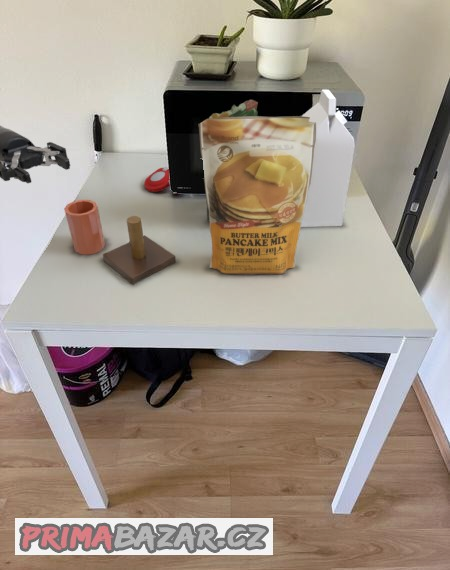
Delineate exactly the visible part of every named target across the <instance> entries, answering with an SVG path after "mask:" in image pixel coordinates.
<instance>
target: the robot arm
mask: <svg viewBox="0 0 450 570" xmlns="http://www.w3.org/2000/svg"><path fill="white" fill-rule="evenodd" d="M52 157H53V158H54V159H53V158H52ZM44 159H45V160H44ZM52 165H57V166H58V167H61V168H62V169H64V170H66V171H68V170H70V168H71V163H70V158H69V157H68V154H67V148H65V147H64V146H61V145H59V144H57V143H54V142H51V141H49V142H46V146H45V147H41V146H36V145H35V144H34V143H33V142H32V140H30V139H29V138H27V137H26V136H23V135H21V134H20V133H18V132H16V131H14V130H12V129H10V128H7V127H4V126H2V125H0V179H1V180H3V181H4V182H8V181H10V180H11V179H12V178H13V180H18V181H20V182H21V183H26V184H31V183H32V178H31V175H30V172H29V171H27V170H30V169H32V168H34V167H35V168H36V167H39V166H41V167H50V166H52Z"/></svg>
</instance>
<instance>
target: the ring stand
mask: <svg viewBox="0 0 450 570" xmlns="http://www.w3.org/2000/svg"><path fill="white" fill-rule="evenodd" d="M126 226H127V232H128V239H129V242H126V243H125V244H123V245H120V246H118V247H116V248H113V249H111V250H110V251H107V252H105V253H102V259H103V261H104V263H106V264H107V265H108V266H110V267H111V268H112V269H113V270H115V272H117V273H118V274H119V275H121V277H123V278H124V279H126V280H127V281H128V282H129V283H131V284H132V285H135V284H137V283H138V282H140V281H142V280H144V279H147V278H148V277H150V276H152V275H154V274H156V273H158V272H160V271H162V270H164V269H165V268H167V267H170V266H171V265H173V264H176V261H177V259H176V255H174V254H173V253H172V252H170V251H169V250H167V249H166V248H164V247H163V246H161V245H160V244H158V243H157V242H155V240H152V239H151V238H149V237H148V236H147V235H146V234H145V235H144V232H143V223H142V218H141V217H140V216H138V215H131V216H129V217H126Z"/></svg>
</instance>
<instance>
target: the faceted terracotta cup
mask: <svg viewBox="0 0 450 570" xmlns="http://www.w3.org/2000/svg"><path fill="white" fill-rule="evenodd" d="M64 214H65V218H66V222H67V225H68V230H69V234H70V238H71V242H72V245H73V250H74V252H75V253H77V254H79V255H85V256H89V255H94V254H98V253H99V252H101V251H102V250H103V249H104V247H105V246H106V242H105V237H104V233H103V227H102V222H101V217H100V213H99V207H98V204H97V202H96V201H93V200H92V199H77V200H74V201H71V202H69V203H67V204H66V206H64Z"/></svg>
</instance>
